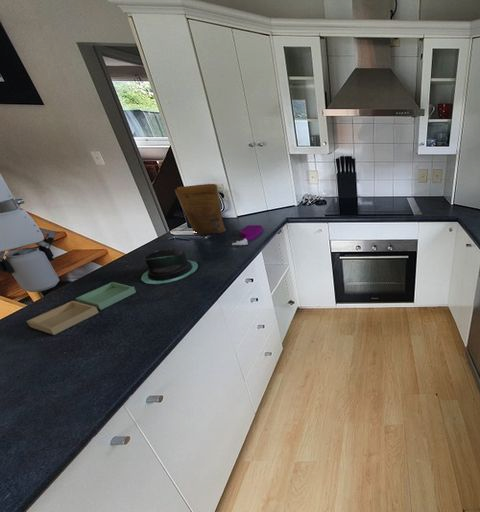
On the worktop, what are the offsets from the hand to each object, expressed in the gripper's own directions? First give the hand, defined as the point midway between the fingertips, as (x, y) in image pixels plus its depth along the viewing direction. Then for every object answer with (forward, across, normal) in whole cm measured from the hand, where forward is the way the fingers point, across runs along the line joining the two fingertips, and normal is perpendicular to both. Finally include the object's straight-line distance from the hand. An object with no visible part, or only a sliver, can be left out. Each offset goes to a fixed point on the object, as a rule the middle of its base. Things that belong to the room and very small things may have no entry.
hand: (30, 265), depth 80 cm
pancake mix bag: (+19, -74, -18) cm, 79 cm away
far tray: (+20, -13, 0) cm, 24 cm away
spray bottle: (+19, -77, +6) cm, 79 cm away
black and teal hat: (+20, -34, +3) cm, 40 cm away
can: (+8, 0, 0) cm, 8 cm away
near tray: (+20, 0, +1) cm, 20 cm away
